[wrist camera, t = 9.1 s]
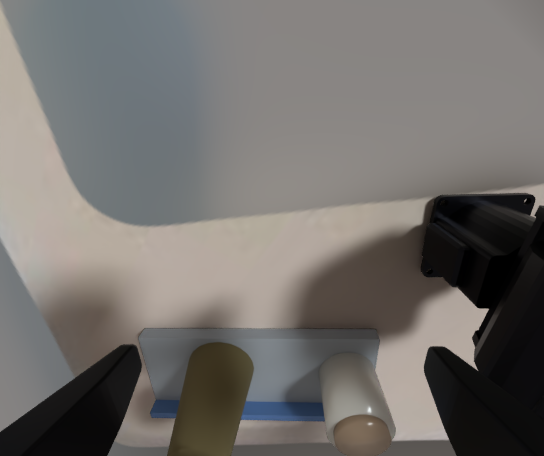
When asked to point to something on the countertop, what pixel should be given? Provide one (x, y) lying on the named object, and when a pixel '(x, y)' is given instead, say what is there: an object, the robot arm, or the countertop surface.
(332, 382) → the ceramic jar
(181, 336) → the shelf
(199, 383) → the olive waisted cylinder
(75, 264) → the countertop surface
